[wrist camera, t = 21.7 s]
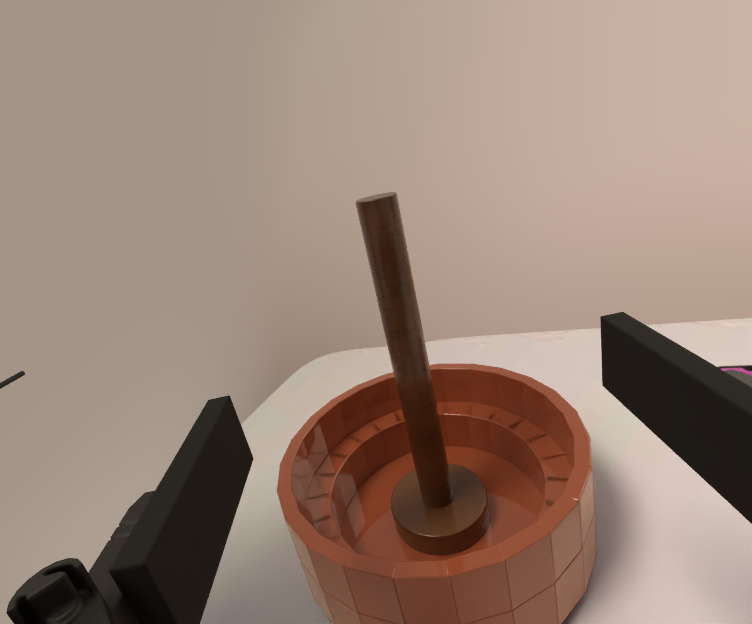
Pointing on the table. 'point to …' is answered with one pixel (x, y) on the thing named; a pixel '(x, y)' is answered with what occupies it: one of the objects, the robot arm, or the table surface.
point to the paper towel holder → (418, 400)
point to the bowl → (463, 447)
